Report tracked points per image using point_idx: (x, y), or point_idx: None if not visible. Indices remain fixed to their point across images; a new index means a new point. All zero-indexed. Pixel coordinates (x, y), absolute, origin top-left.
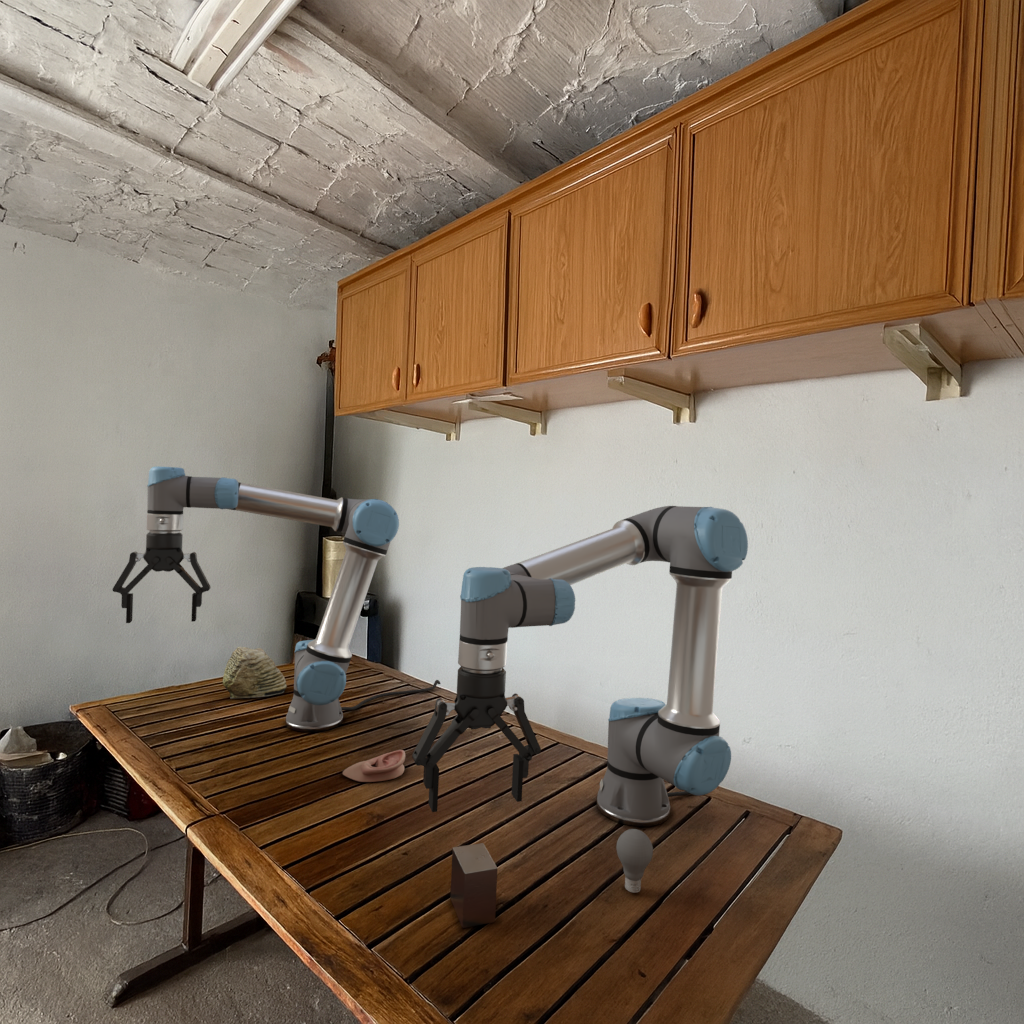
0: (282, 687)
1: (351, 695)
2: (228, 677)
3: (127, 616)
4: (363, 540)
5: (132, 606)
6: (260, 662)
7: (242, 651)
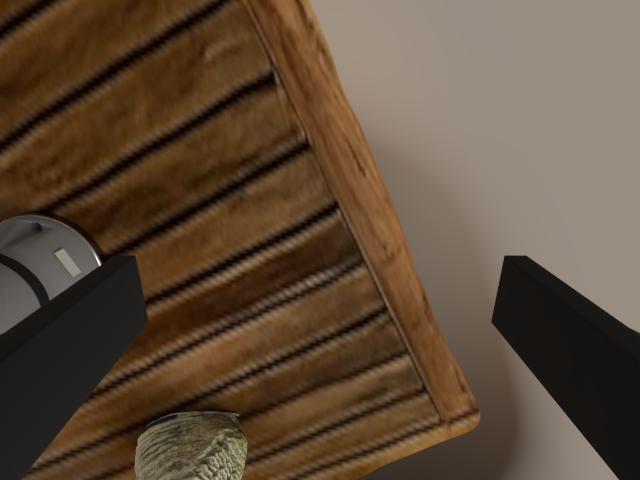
0: (144, 434)
1: None
2: (230, 444)
3: (545, 276)
4: None
5: (549, 384)
6: (157, 476)
7: None
